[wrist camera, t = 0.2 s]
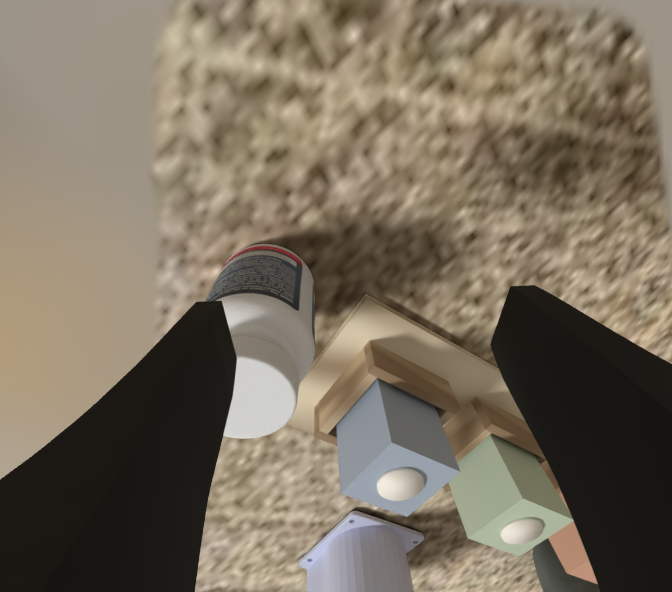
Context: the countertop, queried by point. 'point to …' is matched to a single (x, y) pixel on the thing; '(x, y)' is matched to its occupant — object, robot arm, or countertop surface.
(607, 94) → the countertop surface
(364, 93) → the countertop surface
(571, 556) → the terracotta block
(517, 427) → the birch board
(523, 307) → the robot arm
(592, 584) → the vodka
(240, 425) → the pill bottle
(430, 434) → the slate-blue block
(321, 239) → the countertop surface
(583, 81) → the countertop surface
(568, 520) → the sage block
